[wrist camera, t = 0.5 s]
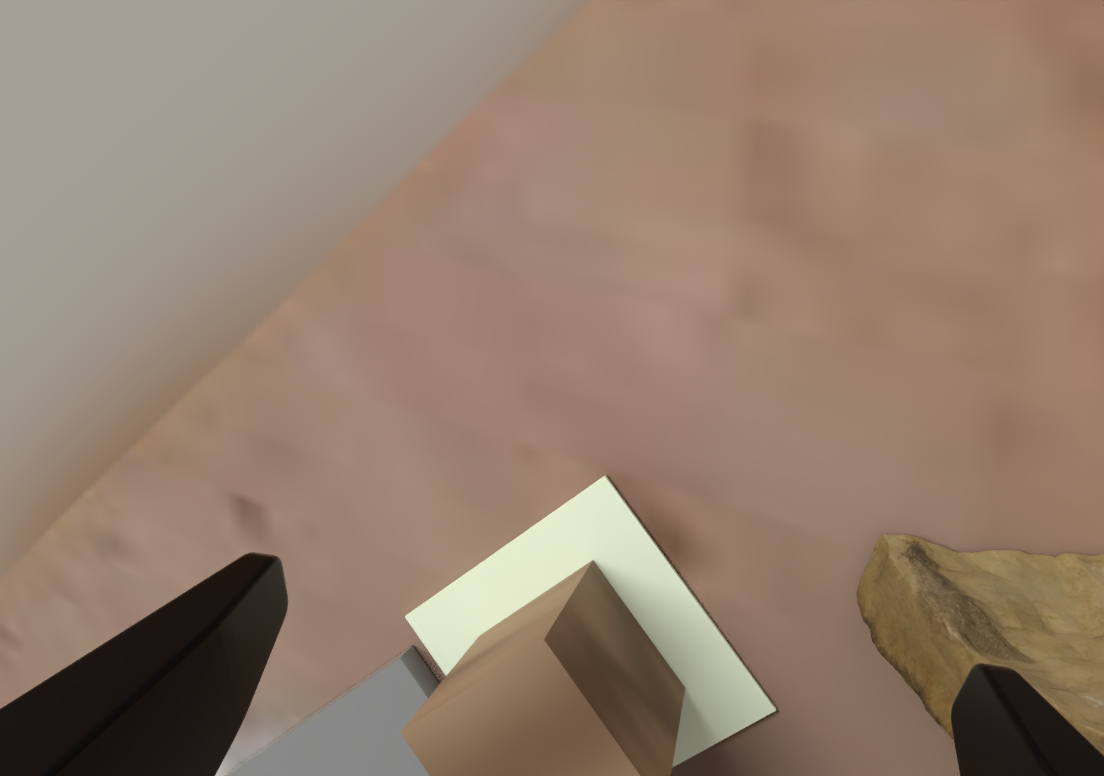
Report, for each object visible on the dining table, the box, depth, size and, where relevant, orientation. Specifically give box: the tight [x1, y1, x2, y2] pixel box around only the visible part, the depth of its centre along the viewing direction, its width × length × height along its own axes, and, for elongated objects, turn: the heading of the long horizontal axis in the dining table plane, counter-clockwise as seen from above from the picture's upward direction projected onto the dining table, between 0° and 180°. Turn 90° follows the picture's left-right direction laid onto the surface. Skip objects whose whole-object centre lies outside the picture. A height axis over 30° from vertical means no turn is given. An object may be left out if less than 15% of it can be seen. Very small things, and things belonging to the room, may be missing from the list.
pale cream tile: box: [405, 475, 776, 768], centre depth 25 cm, size 9×9×1 cm
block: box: [400, 560, 685, 776], centre depth 22 cm, size 5×5×6 cm
